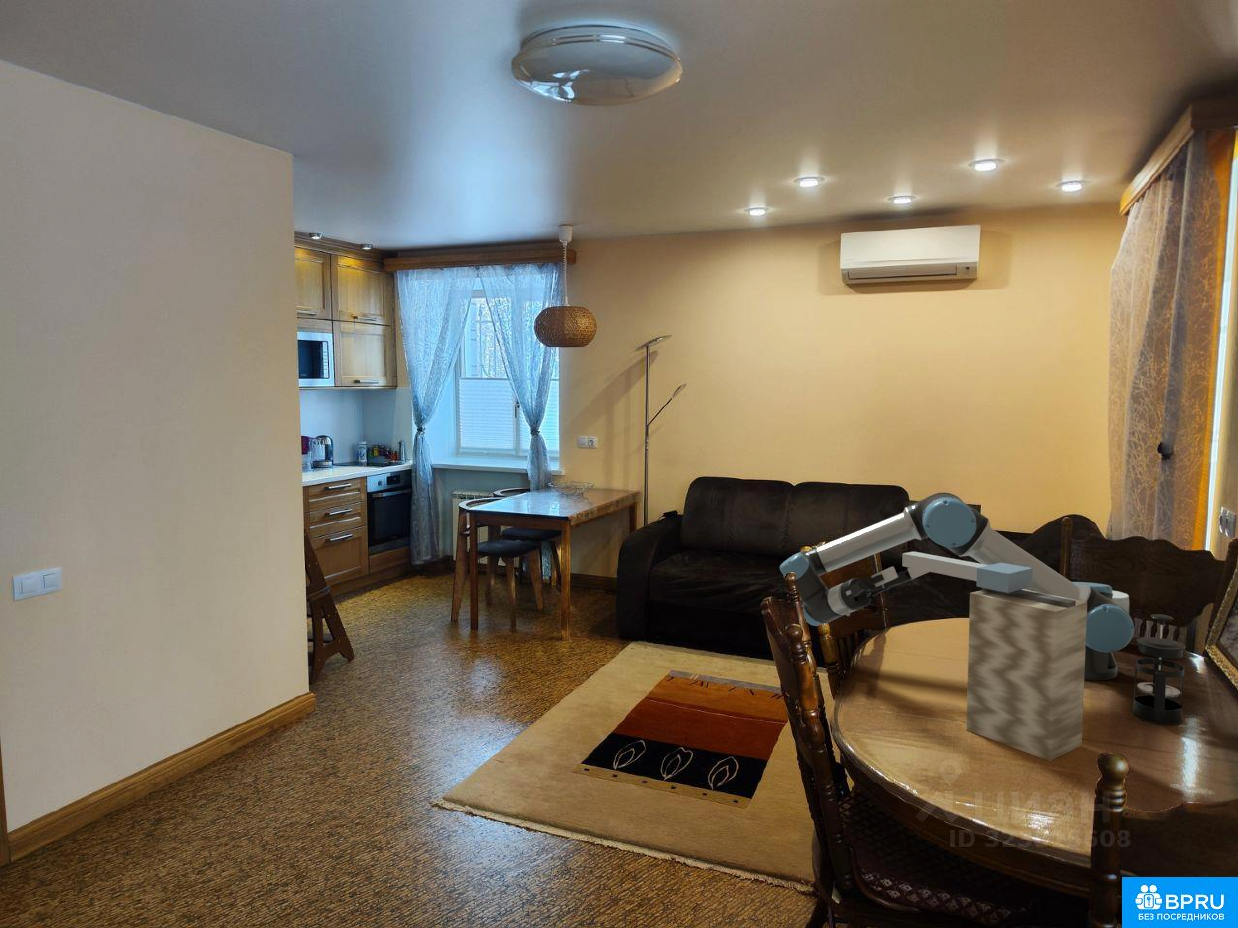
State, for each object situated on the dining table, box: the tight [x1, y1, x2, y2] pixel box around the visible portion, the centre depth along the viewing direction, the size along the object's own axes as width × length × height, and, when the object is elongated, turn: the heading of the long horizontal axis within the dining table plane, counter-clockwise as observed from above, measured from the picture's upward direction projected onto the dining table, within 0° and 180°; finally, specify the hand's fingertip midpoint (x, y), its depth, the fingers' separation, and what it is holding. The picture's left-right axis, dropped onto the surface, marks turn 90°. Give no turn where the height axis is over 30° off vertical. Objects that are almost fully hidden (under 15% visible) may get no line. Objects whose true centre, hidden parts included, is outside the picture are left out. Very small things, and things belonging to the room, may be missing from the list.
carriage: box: [901, 551, 1033, 593], centre depth 177 cm, size 28×9×4 cm, turn 33°
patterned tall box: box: [966, 587, 1087, 762], centre depth 166 cm, size 18×12×31 cm, turn 33°
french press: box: [1131, 613, 1187, 727], centre depth 176 cm, size 12×9×23 cm
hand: (913, 568), depth 188 cm, fingers open, 13 cm apart
